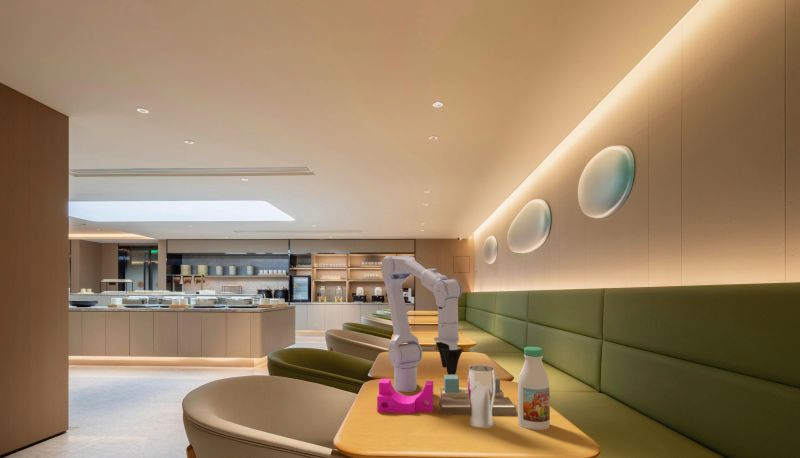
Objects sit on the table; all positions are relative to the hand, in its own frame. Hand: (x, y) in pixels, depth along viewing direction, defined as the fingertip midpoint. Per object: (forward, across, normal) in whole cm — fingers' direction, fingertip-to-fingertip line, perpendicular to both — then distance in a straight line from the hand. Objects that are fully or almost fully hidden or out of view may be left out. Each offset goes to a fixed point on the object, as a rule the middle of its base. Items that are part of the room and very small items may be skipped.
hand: (448, 370), depth 131 cm
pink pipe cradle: (+11, 0, -12) cm, 16 cm away
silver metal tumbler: (+11, +14, +5) cm, 19 cm away
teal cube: (+8, -7, +2) cm, 10 cm away
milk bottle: (+11, +15, +18) cm, 26 cm away
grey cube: (+8, -6, +14) cm, 17 cm away
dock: (+10, +2, +7) cm, 13 cm away
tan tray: (+11, -6, +8) cm, 15 cm away
